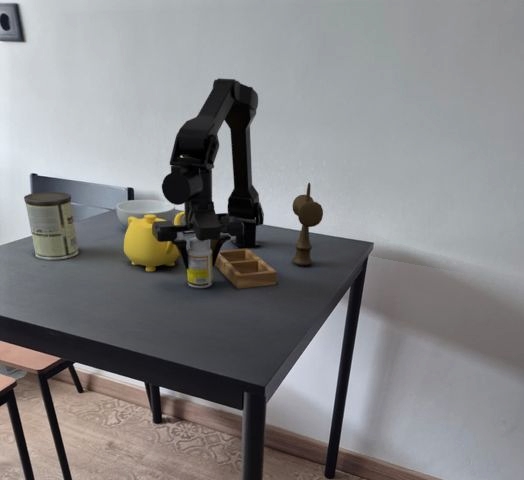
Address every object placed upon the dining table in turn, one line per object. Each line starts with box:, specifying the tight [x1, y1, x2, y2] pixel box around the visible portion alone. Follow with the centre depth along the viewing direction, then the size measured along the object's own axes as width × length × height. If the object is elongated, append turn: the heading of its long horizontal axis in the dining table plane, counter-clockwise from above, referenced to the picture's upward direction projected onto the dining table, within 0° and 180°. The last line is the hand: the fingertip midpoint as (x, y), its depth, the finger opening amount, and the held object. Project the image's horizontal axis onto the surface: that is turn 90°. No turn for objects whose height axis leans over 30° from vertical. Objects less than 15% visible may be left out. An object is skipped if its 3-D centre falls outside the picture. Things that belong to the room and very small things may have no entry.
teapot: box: [123, 210, 185, 272], centre depth 116 cm, size 14×14×12 cm
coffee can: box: [23, 191, 80, 261], centre depth 118 cm, size 10×10×14 cm
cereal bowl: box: [115, 199, 176, 228], centre depth 142 cm, size 17×17×7 cm
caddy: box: [214, 248, 278, 290], centre depth 115 cm, size 18×9×3 cm, turn 23°
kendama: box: [292, 182, 324, 267], centre depth 119 cm, size 6×10×20 cm, turn 8°
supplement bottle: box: [186, 236, 214, 289], centre depth 106 cm, size 6×6×10 cm
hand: (199, 267), depth 106 cm, fingers closed on supplement bottle, 5 cm apart
